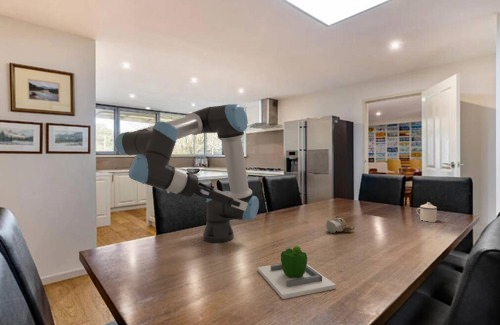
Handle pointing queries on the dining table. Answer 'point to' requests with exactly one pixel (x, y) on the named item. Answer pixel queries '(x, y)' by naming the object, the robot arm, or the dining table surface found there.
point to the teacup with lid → (428, 212)
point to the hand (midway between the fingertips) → (236, 201)
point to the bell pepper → (294, 262)
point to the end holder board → (295, 281)
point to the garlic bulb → (337, 225)
